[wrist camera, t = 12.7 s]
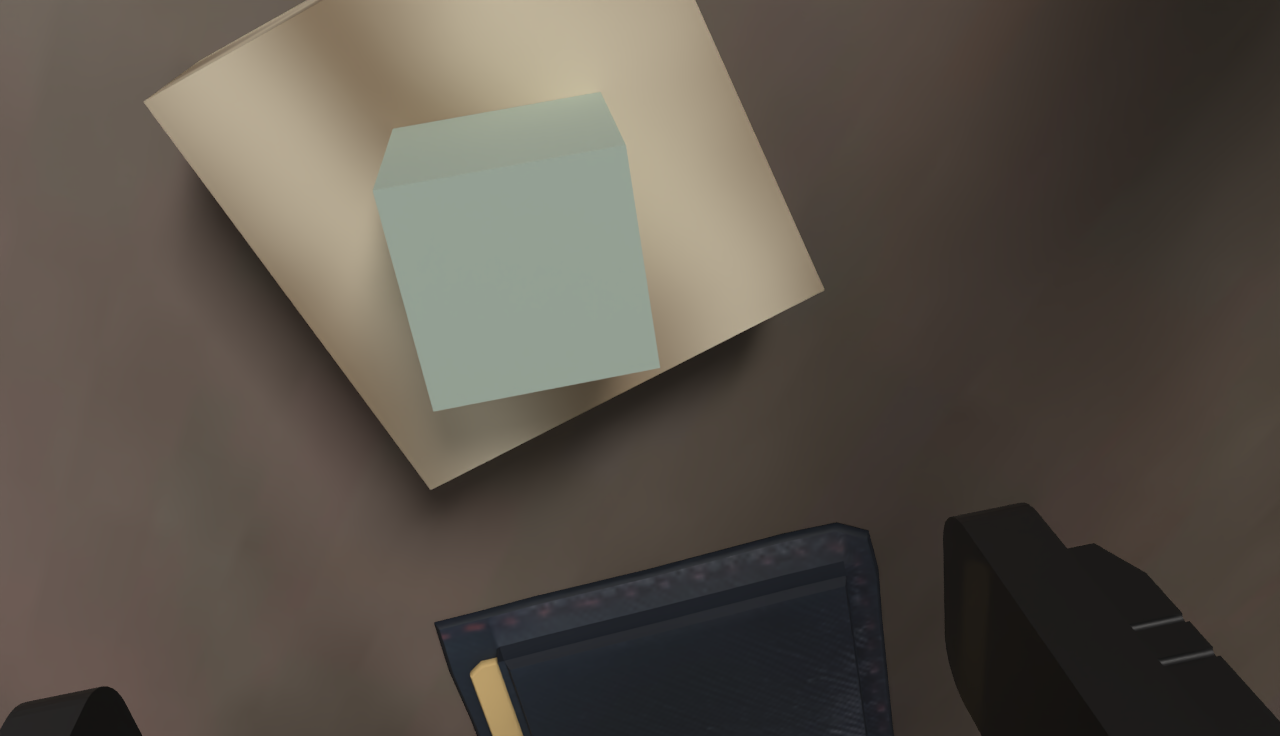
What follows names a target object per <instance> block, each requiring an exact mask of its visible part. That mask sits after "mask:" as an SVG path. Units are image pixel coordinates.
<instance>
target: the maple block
mask: <svg viewBox="0 0 1280 736" xmlns="http://www.w3.org/2000/svg"><path fill="white" fill-rule="evenodd" d="M596 92H601V94H602V96H603V98H604V100H605V102H606V104H607V106H608V109H609V111H610V113H611V115H612V117H613V119H614V121H615V123H616V125H617V127H618V129H619V132H620V134H621V136H622V138H623V140H624V142H625V144H626V149H627V156H628V162H629V169H630V175H631V182H632V188H633V195H634V201H635V208H636V214H637V221H638V227H639V234H640V240H641V247H642V253H643V260H644V266H645V273H646V279H647V286H648V292H649V299H650V305H651V312H652V318H653V325H654V331H655V338H656V344H657V351H658V357H659V364H660V368H657V369H652V370H647V371H642V372H637V373H631V374H626V375H621V376H616V377H611V378H605V379H600V380H595V381H590V382H585V383H579V384H574V385H569V386H564V387H559V388H554V389H548V390H543V391H538V392H533V393H528V394H522V395H517V396H512V397H507V398H502V399H496V400H491V401H486V402H481V403H476V404H470V405H465V406H460V407H455V408H450V409H445V410H439V411H434V412H433V408H432V405H431V401H430V397H429V394H428V390H427V386H426V383H425V379H424V376H423V372H422V368H421V365H420V361H419V357H418V354H417V350H416V347H415V343H414V339H413V336H412V332H411V328H410V325H409V321H408V317H407V314H406V310H405V307H404V303H403V299H402V296H401V292H400V288H399V285H398V281H397V278H396V274H395V270H394V267H393V263H392V259H391V256H390V252H389V248H388V245H387V241H386V238H385V234H384V230H383V227H382V223H381V219H380V216H379V212H378V209H377V205H376V201H375V198H374V194H373V188H374V185H375V182H376V179H377V176H378V173H379V169H380V166H381V163H382V160H383V157H384V154H385V151H386V148H387V145H388V142H389V139H390V136H391V133H392V130H393V129H394V128H400V127H405V126H411V125H417V124H422V123H428V122H433V121H439V120H445V119H450V118H456V117H462V116H467V115H473V114H478V113H484V112H490V111H495V110H501V109H507V108H512V107H518V106H523V105H529V104H535V103H540V102H546V101H552V100H557V99H563V98H568V97H574V96H580V95H585V94H591V93H596ZM144 103H145V105H146V106H147V107H148V109H149V110H150V111H151V113H152V114H153V115H154V117H155V118H156V119H157V121H158V122H159V123H160V125H161V126H162V128H163V129H164V130H165V132H166V133H167V134H168V136H169V137H170V138H171V140H172V141H173V142H174V144H175V145H176V146H177V148H178V149H179V151H180V152H181V153H182V155H183V156H184V157H185V159H186V160H187V161H188V163H189V164H190V165H191V167H192V168H193V169H194V171H195V172H196V173H197V175H198V176H199V178H200V179H201V180H202V182H203V183H204V184H205V186H206V187H207V188H208V190H209V191H210V192H211V194H212V195H213V196H214V198H215V199H216V201H217V202H218V203H219V205H220V206H221V207H222V209H223V210H224V211H225V213H226V214H227V215H228V217H229V218H230V219H231V221H232V222H233V224H234V225H235V226H236V228H237V229H238V230H239V232H240V233H241V234H242V236H243V237H244V238H245V240H246V241H247V242H248V244H249V245H250V247H251V248H252V249H253V251H254V252H255V253H256V255H257V256H258V257H259V259H260V260H261V261H262V263H263V264H264V265H265V267H266V268H267V269H268V271H269V272H270V274H271V275H272V276H273V278H274V279H275V280H276V282H277V283H278V284H279V286H280V287H281V288H282V290H283V291H284V292H285V294H286V295H287V297H288V298H289V299H290V301H291V302H292V303H293V305H294V306H295V307H296V309H297V310H298V311H299V313H300V314H301V315H302V317H303V318H304V320H305V321H306V322H307V324H308V325H309V326H310V328H311V329H312V330H313V332H314V333H315V334H316V336H317V337H318V338H319V340H320V341H321V343H322V344H323V345H324V347H325V348H326V349H327V351H328V352H329V353H330V355H331V356H332V357H333V359H334V360H335V361H336V363H337V364H338V365H339V367H340V368H341V370H342V371H343V372H344V374H345V375H346V376H347V378H348V379H349V380H350V382H351V383H352V384H353V386H354V387H355V388H356V390H357V391H358V393H359V394H360V395H361V397H362V398H363V399H364V401H365V402H366V403H367V405H368V406H369V407H370V409H371V410H372V411H373V413H374V414H375V416H376V417H377V418H378V420H379V421H380V422H381V424H382V425H383V426H384V428H385V429H386V430H387V432H388V433H389V434H390V436H391V437H392V439H393V440H394V441H395V443H396V444H397V445H398V447H399V448H400V449H401V451H402V452H403V453H404V455H405V456H406V457H407V459H408V460H409V461H410V463H411V464H412V466H413V467H414V468H415V470H416V471H417V472H418V474H419V475H420V476H421V478H422V479H423V480H424V482H425V483H426V484H427V486H428V487H429V489H430V490H432V489H434V488H436V487H438V486H440V485H442V484H444V483H446V482H448V481H450V480H452V479H454V478H456V477H458V476H460V475H462V474H463V473H465V472H467V471H469V470H471V469H473V468H475V467H477V466H479V465H481V464H483V463H485V462H487V461H489V460H491V459H493V458H495V457H497V456H499V455H501V454H503V453H505V452H507V451H509V450H511V449H513V448H515V447H517V446H519V445H521V444H523V443H525V442H527V441H528V440H530V439H532V438H534V437H536V436H538V435H540V434H542V433H544V432H546V431H548V430H550V429H552V428H554V427H556V426H558V425H560V424H562V423H564V422H566V421H568V420H570V419H572V418H574V417H576V416H578V415H580V414H582V413H584V412H586V411H588V410H590V409H591V408H593V407H595V406H597V405H599V404H601V403H603V402H605V401H607V400H609V399H611V398H613V397H615V396H617V395H619V394H621V393H623V392H625V391H627V390H629V389H631V388H633V387H635V386H637V385H639V384H641V383H643V382H645V381H647V380H649V379H651V378H653V377H655V376H656V375H658V374H660V373H662V372H664V371H666V370H668V369H670V368H672V367H674V366H676V365H678V364H680V363H682V362H684V361H686V360H688V359H690V358H692V357H694V356H696V355H698V354H700V353H702V352H704V351H706V350H708V349H710V348H712V347H714V346H716V345H718V344H720V343H721V342H723V341H725V340H727V339H729V338H731V337H733V336H735V335H737V334H739V333H741V332H743V331H745V330H747V329H749V328H751V327H753V326H755V325H757V324H759V323H761V322H763V321H765V320H767V319H769V318H771V317H773V316H775V315H777V314H779V313H781V312H783V311H784V310H786V309H788V308H790V307H792V306H794V305H796V304H798V303H800V302H802V301H804V300H806V299H808V298H810V297H812V296H814V295H816V294H818V293H820V292H822V291H824V287H823V285H822V283H821V281H820V279H819V276H818V274H817V272H816V270H815V267H814V265H813V263H812V261H811V258H810V256H809V254H808V252H807V249H806V247H805V245H804V243H803V240H802V238H801V236H800V234H799V232H798V229H797V227H796V225H795V223H794V220H793V218H792V216H791V214H790V211H789V209H788V207H787V205H786V202H785V200H784V198H783V196H782V193H781V191H780V189H779V187H778V185H777V182H776V180H775V178H774V176H773V173H772V171H771V169H770V167H769V164H768V162H767V160H766V158H765V155H764V153H763V151H762V149H761V146H760V144H759V142H758V140H757V138H756V135H755V133H754V131H753V129H752V126H751V124H750V122H749V120H748V117H747V115H746V113H745V111H744V108H743V106H742V104H741V102H740V100H739V97H738V95H737V93H736V91H735V88H734V86H733V84H732V82H731V79H730V77H729V75H728V73H727V70H726V68H725V66H724V64H723V61H722V59H721V57H720V55H719V53H718V50H717V48H716V46H715V44H714V41H713V39H712V37H711V35H710V32H709V30H708V28H707V26H706V23H705V21H704V19H703V17H702V14H701V12H700V10H699V8H698V6H697V3H696V1H695V0H306V1H304V2H303V3H301V4H299V5H297V6H296V7H294V8H292V9H290V10H289V11H287V12H285V13H283V14H281V15H280V16H278V17H276V18H274V19H273V20H271V21H269V22H267V23H266V24H264V25H262V26H260V27H259V28H257V29H255V30H253V31H251V32H250V33H248V34H246V35H244V36H243V37H241V38H239V39H237V40H236V41H234V42H232V43H230V44H228V45H227V46H225V47H223V48H221V49H220V50H218V51H216V52H214V53H213V54H211V55H209V56H207V57H205V58H204V59H202V60H200V61H199V62H197V63H196V64H194V65H193V66H192V67H190V68H189V69H188V70H186V71H185V72H184V73H182V74H181V75H179V76H178V77H177V78H175V79H174V80H173V81H171V82H170V83H168V84H167V85H166V86H164V87H163V88H162V89H160V90H159V91H158V92H156V93H155V94H153V95H152V96H151V97H149V98H148V99H147V100H145V101H144Z"/></svg>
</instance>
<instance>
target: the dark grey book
mask: <svg viewBox="0 0 1280 736" xmlns="http://www.w3.org/2000/svg"><path fill="white" fill-rule="evenodd" d="M435 627H436V630H437V633H438V636H439V640H440V643H441V646H442V649H443V652H444V656H445V659H446V662H447V665H448V669H449V671H450V674H451V676H452V678H453V680H454V683H455V685H456V687H457V689H458V692H459V694H460V696H461V698H462V701H463V703H464V705H465V707H466V710H467V712H468V714H469V716H470V719H471V721H472V723H473V726H474V729H475V731H476V734H477V736H894V733H893V725H892V715H891V705H890V695H889V685H888V675H887V664H886V654H885V644H884V634H883V624H882V612H881V599H880V585H879V572H878V566H877V562H876V558H875V554H874V550H873V547H872V543H871V539H870V535H869V531H868V530H864V529H860V528H856V527H852V526H848V525H844V524H840V523H832V524H827V525H822V526H818V527H813V528H808V529H803V530H798V531H794V532H789V533H784V534H780V535H776V536H773V537H769V538H765V539H761V540H757V541H754V542H750V543H746V544H742V545H738V546H735V547H731V548H727V549H723V550H719V551H716V552H712V553H708V554H704V555H701V556H697V557H693V558H689V559H685V560H682V561H678V562H674V563H670V564H666V565H663V566H659V567H655V568H651V569H647V570H643V571H639V572H635V573H631V574H627V575H622V576H618V577H614V578H610V579H606V580H601V581H597V582H593V583H589V584H585V585H581V586H576V587H572V588H568V589H564V590H560V591H555V592H551V593H547V594H543V595H539V596H534V597H531V598H527V599H523V600H519V601H516V602H512V603H508V604H505V605H501V606H497V607H493V608H490V609H486V610H482V611H478V612H474V613H470V614H466V615H462V616H458V617H454V618H450V619H446V620H442V621H438V622H435Z"/></svg>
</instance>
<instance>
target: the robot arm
mask: <svg viewBox="0 0 1280 736" xmlns="http://www.w3.org/2000/svg"><path fill="white" fill-rule="evenodd" d="M943 549H944V608H945V642H946V649H947V655H948V659H949V664H950V667H951V671H952V674H953V677H954V681H955V683H956V686H957V689H958V691H959V694H960V696H961V698H962V700H963V702H964V704H965V706H966V708H967V710H968V711H969V713H970V715H971V717H972V719H973V720H974V722H975V724H976V726H977V728H978V730H979V731H980V733H981V735H982V736H1280V721H1279V720H1278V719H1277V718H1276V717H1275V716H1274V715H1273V713H1272V712H1271V711H1270V710H1269V709H1268V708H1267V707H1266V706H1265V705H1264V703H1263V702H1262V701H1261V700H1260V699H1259V698H1258V697H1257V696H1256V695H1255V693H1254V692H1253V691H1252V690H1251V689H1250V688H1249V687H1248V686H1247V685H1246V684H1245V682H1244V681H1243V680H1242V679H1241V678H1240V677H1239V676H1238V675H1237V674H1236V672H1235V671H1234V670H1233V669H1232V668H1231V667H1230V666H1229V665H1228V664H1227V662H1226V661H1225V660H1224V659H1223V658H1222V657H1221V656H1217V657H1216V656H1215V654H1214V652H1213V647H1212V646H1211V645H1210V644H1209V642H1208V641H1207V640H1206V639H1205V638H1204V637H1203V636H1202V635H1201V634H1200V632H1199V631H1198V630H1197V629H1196V628H1195V627H1194V626H1193V625H1192V624H1191V622H1190V621H1188V622H1185V621H1184V619H1183V617H1182V613H1181V611H1180V610H1179V609H1178V608H1177V607H1176V606H1175V605H1174V604H1173V603H1172V601H1171V600H1170V599H1169V598H1168V597H1167V596H1166V595H1165V594H1164V593H1163V591H1162V590H1161V589H1160V588H1159V587H1158V586H1157V585H1156V584H1155V583H1154V581H1153V580H1152V579H1151V578H1150V577H1149V576H1148V575H1147V574H1146V573H1145V572H1143V571H1141V570H1140V569H1138V568H1136V567H1134V566H1133V565H1131V564H1129V563H1128V562H1126V561H1124V560H1122V559H1121V558H1119V557H1117V556H1115V555H1114V554H1112V553H1110V552H1108V551H1107V550H1105V549H1103V548H1101V547H1100V546H1098V545H1096V544H1094V543H1093V544H1088V545H1084V546H1079V547H1074V548H1069V549H1067V548H1066V547H1065V545H1064V544H1063V543H1062V542H1061V541H1060V539H1059V538H1058V537H1057V536H1056V534H1055V533H1054V532H1053V531H1052V530H1051V528H1050V527H1049V526H1048V525H1047V523H1046V522H1045V521H1044V520H1043V519H1042V517H1041V516H1040V515H1039V514H1038V513H1037V511H1036V510H1035V509H1034V508H1033V507H1031V506H1030V505H1029V504H1026V503H1017V504H1012V505H1007V506H1003V507H998V508H993V509H988V510H983V511H978V512H973V513H968V514H963V515H958V516H953V517H950V518H948V519H947V520H946V522H945V526H944V532H943ZM0 736H142V734H141V732H140V730H139V729H138V727H137V725H136V723H135V721H134V719H133V717H132V715H131V713H130V711H129V709H128V707H127V705H126V704H125V702H124V700H123V699H122V697H121V696H120V695H119V693H118V692H117V691H115V690H114V689H113V688H110V687H98V688H93V689H88V690H83V691H78V692H73V693H68V694H63V695H58V696H54V697H49V698H44V699H39V700H34V701H29V702H25V703H22V704H20V705H18V706H17V707H15V708H14V709H13V710H12V711H11V713H10V714H9V716H8V717H7V719H6V720H5V722H4V724H3V726H2V727H1V729H0Z"/></svg>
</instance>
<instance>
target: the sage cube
mask: <svg viewBox="0 0 1280 736" xmlns="http://www.w3.org/2000/svg"><path fill="white" fill-rule="evenodd" d="M373 194H374V198H375V201H376V205H377V209H378V212H379V216H380V219H381V223H382V227H383V230H384V234H385V238H386V241H387V245H388V248H389V252H390V256H391V259H392V263H393V267H394V270H395V274H396V278H397V281H398V285H399V288H400V292H401V296H402V299H403V303H404V307H405V310H406V314H407V317H408V321H409V325H410V328H411V332H412V336H413V339H414V343H415V347H416V350H417V354H418V357H419V361H420V365H421V368H422V372H423V376H424V379H425V383H426V386H427V390H428V394H429V397H430V401H431V405H432V408H433V412H434V411H439V410H445V409H450V408H455V407H460V406H465V405H470V404H476V403H481V402H486V401H491V400H496V399H502V398H507V397H512V396H517V395H522V394H528V393H533V392H538V391H543V390H548V389H554V388H559V387H564V386H569V385H574V384H579V383H585V382H590V381H595V380H600V379H605V378H611V377H616V376H621V375H626V374H631V373H637V372H642V371H647V370H652V369H657V368H660V364H659V357H658V351H657V344H656V338H655V331H654V325H653V318H652V312H651V305H650V299H649V292H648V286H647V279H646V273H645V266H644V260H643V253H642V247H641V240H640V234H639V227H638V221H637V214H636V208H635V201H634V195H633V188H632V182H631V175H630V169H629V162H628V156H627V149H626V144H625V142H624V140H623V138H622V136H621V134H620V132H619V129H618V127H617V125H616V123H615V121H614V119H613V117H612V115H611V113H610V111H609V109H608V106H607V104H606V102H605V100H604V98H603V96H602V94H601V92H596V93H591V94H585V95H580V96H574V97H568V98H563V99H557V100H552V101H546V102H540V103H535V104H529V105H523V106H518V107H512V108H507V109H501V110H495V111H490V112H484V113H478V114H473V115H467V116H462V117H456V118H450V119H445V120H439V121H433V122H428V123H422V124H417V125H411V126H405V127H400V128H394V129H393V130H392V133H391V136H390V139H389V142H388V145H387V148H386V151H385V154H384V157H383V160H382V163H381V166H380V169H379V173H378V176H377V179H376V182H375V185H374V188H373Z"/></svg>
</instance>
